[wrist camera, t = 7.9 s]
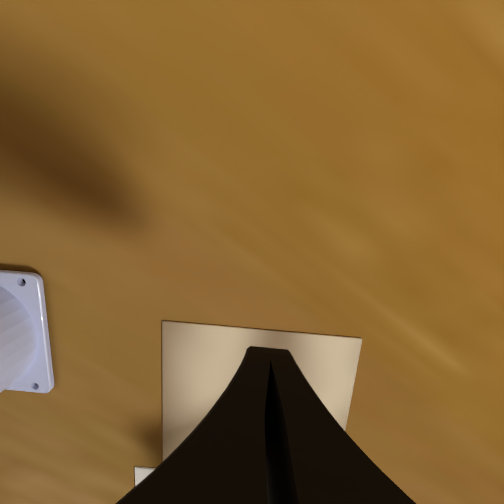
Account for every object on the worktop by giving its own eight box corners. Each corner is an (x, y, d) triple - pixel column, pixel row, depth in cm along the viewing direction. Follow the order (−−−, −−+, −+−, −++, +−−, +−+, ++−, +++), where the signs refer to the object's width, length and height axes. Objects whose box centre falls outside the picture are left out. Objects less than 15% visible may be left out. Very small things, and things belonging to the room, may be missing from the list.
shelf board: (164, 460, 20) (162, 464, 20) (164, 319, 17) (162, 321, 17) (334, 477, 20) (335, 482, 19) (360, 336, 17) (362, 338, 17)
